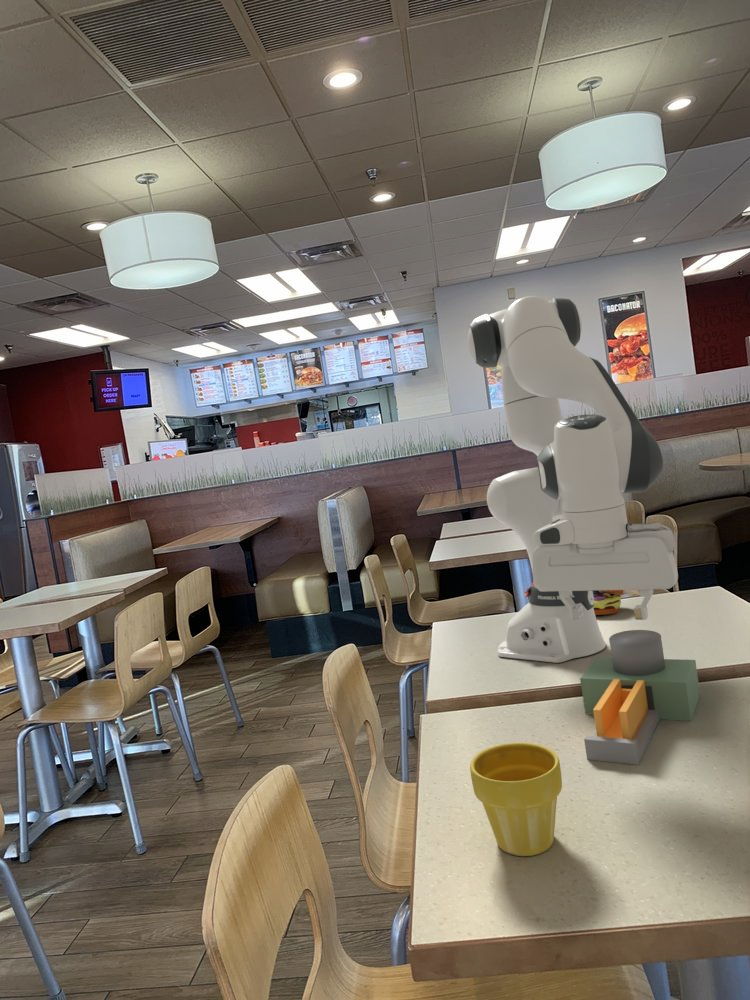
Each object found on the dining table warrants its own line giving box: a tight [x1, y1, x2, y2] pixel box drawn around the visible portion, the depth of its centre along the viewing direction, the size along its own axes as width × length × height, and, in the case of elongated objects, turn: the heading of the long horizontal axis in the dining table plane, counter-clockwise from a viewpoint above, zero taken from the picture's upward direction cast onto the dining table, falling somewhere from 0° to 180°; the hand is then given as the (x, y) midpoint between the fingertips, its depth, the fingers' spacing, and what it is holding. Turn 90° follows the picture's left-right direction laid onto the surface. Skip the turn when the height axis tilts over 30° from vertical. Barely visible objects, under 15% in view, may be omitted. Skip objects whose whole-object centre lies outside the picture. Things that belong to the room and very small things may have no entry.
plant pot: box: [469, 742, 563, 857], centre depth 82 cm, size 10×10×10 cm
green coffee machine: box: [579, 629, 701, 766], centre depth 107 cm, size 16×25×11 cm, turn 147°
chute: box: [593, 679, 649, 740], centre depth 103 cm, size 5×12×5 cm, turn 147°
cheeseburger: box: [593, 590, 625, 616], centre depth 170 cm, size 10×11×10 cm
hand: (608, 618), depth 102 cm, fingers open, 8 cm apart
